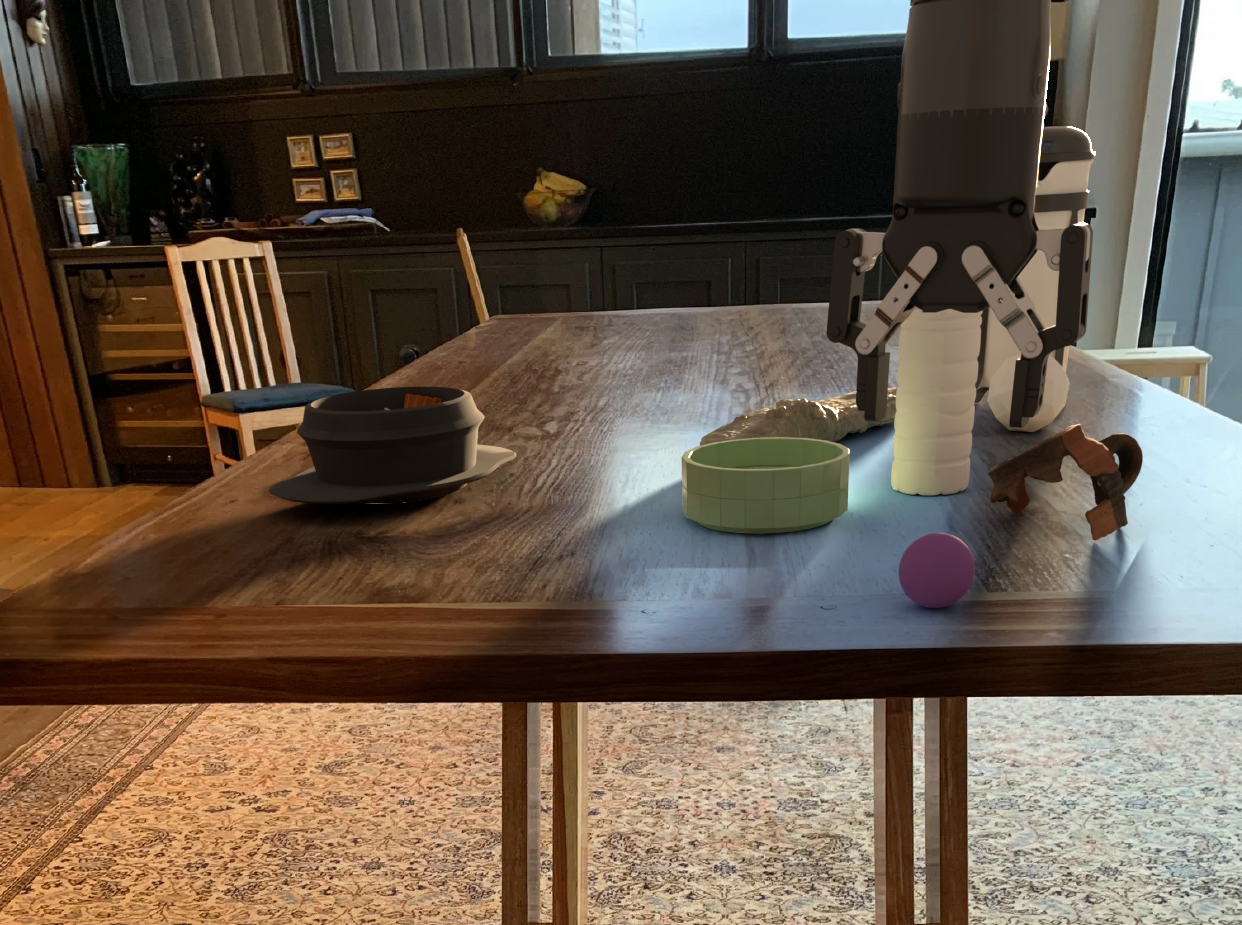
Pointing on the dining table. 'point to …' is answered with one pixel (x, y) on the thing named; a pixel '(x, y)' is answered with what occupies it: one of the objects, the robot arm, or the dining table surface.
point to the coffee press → (1053, 208)
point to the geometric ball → (1052, 395)
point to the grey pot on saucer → (391, 447)
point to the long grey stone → (803, 420)
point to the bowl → (765, 484)
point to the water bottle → (935, 401)
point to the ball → (936, 570)
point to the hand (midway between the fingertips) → (944, 422)
